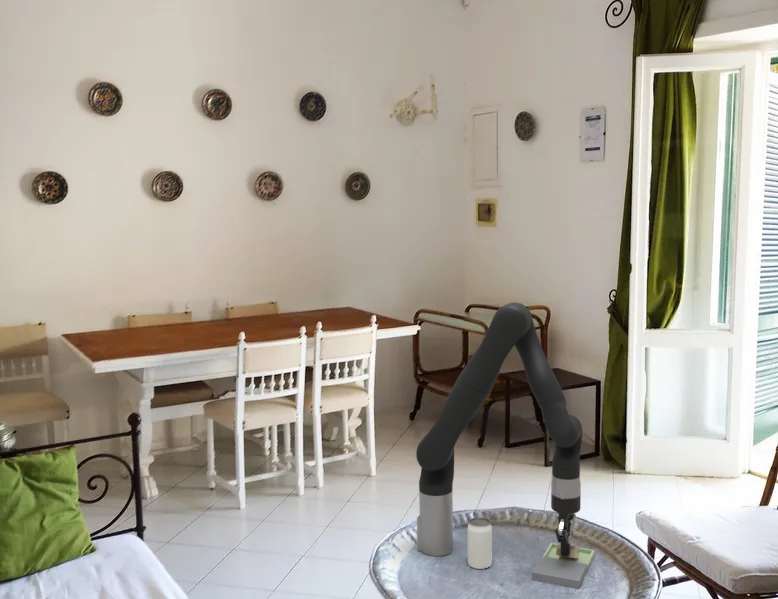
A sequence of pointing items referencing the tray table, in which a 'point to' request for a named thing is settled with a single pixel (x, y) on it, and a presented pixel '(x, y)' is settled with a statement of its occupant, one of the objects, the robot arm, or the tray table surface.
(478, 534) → the can
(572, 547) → the tan square block
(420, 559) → the tray table surface
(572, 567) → the plate
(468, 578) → the tray table surface
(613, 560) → the tray table surface
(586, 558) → the box
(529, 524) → the tray table surface
